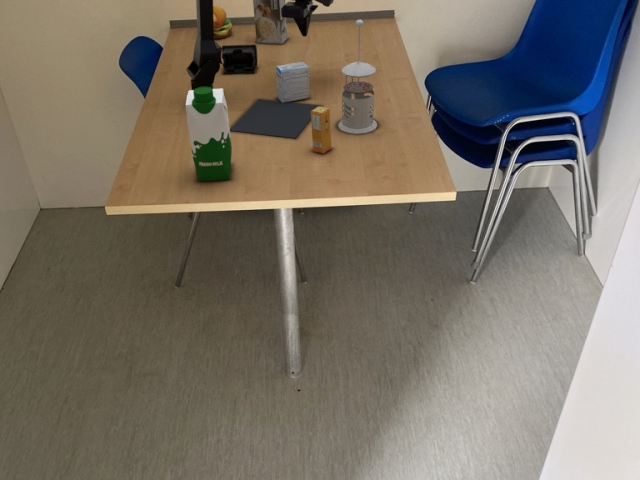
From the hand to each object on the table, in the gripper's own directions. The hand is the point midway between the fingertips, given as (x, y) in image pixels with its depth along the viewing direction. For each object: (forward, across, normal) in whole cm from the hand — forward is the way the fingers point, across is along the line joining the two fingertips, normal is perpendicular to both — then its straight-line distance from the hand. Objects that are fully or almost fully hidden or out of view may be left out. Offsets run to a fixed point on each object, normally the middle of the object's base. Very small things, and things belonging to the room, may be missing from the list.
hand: (304, 36), depth 183 cm
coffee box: (+13, +32, +23) cm, 42 cm away
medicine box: (+13, -11, 0) cm, 17 cm away
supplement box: (+13, -38, -17) cm, 44 cm away
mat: (+13, -24, 0) cm, 27 cm away
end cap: (+13, +6, +23) cm, 27 cm away
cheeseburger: (+13, +33, +43) cm, 56 cm away
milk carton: (+13, -55, +3) cm, 57 cm away
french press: (+13, -22, -21) cm, 33 cm away
